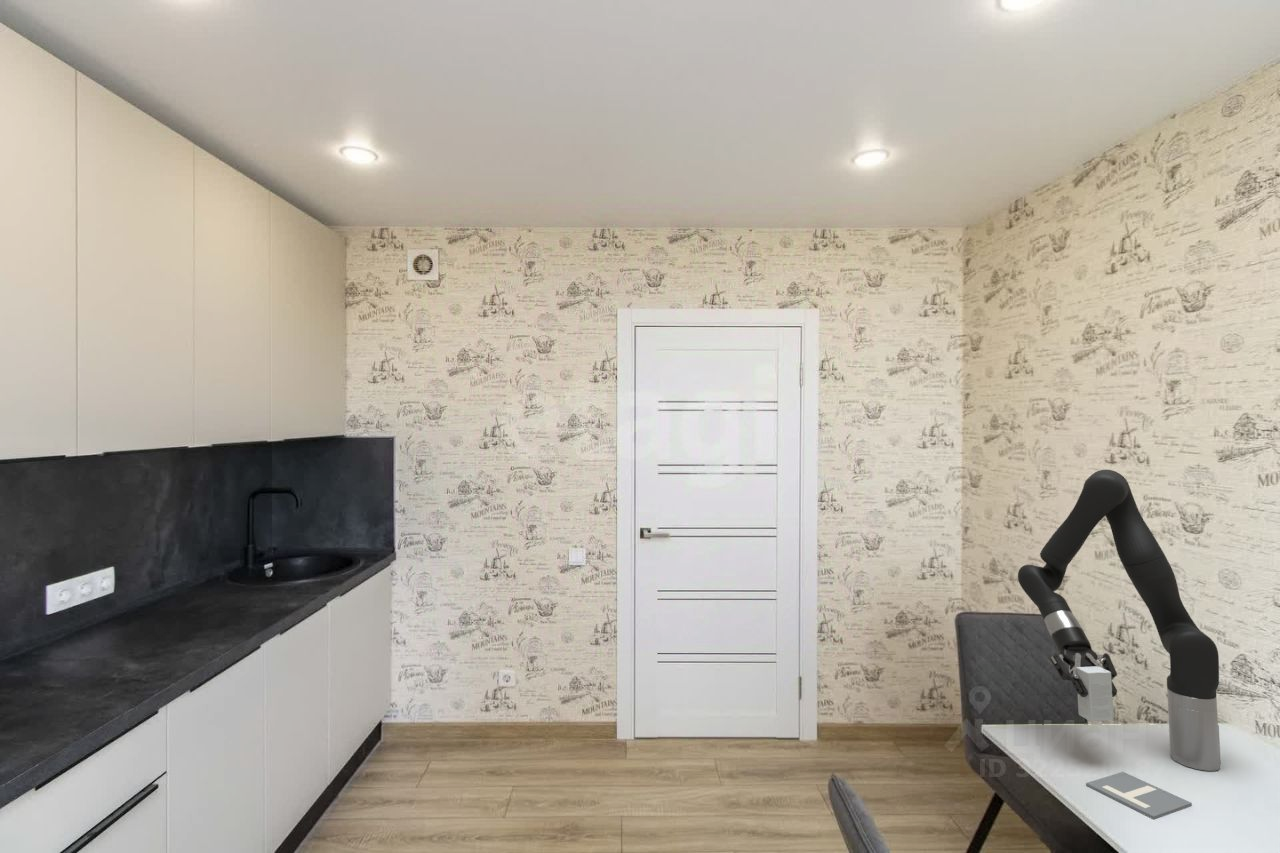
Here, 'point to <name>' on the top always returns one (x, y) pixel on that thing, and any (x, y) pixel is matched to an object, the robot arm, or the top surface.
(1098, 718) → the skincare box
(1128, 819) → the top surface
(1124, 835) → the top surface
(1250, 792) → the top surface
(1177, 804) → the letter card
